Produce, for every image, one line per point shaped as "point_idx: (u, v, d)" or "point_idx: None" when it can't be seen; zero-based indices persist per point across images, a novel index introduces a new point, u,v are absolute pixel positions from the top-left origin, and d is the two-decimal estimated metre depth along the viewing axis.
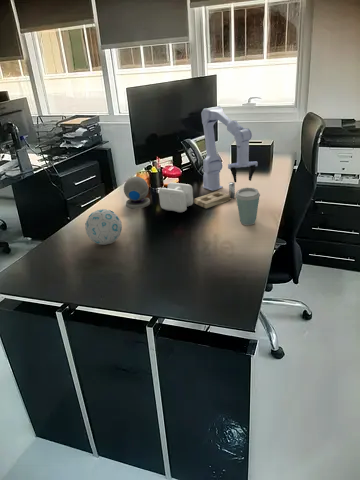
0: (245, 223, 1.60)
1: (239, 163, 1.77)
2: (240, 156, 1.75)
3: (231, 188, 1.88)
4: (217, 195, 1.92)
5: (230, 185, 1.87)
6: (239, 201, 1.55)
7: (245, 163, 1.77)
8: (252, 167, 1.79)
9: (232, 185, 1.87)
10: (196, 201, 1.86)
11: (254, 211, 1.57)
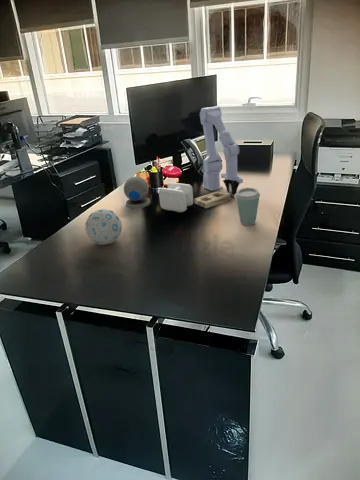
0: (245, 223, 1.60)
1: (226, 175, 1.87)
2: (226, 168, 1.85)
3: (231, 188, 1.88)
4: (217, 195, 1.92)
5: (230, 185, 1.87)
6: (239, 201, 1.55)
7: (228, 176, 1.84)
8: (232, 182, 1.85)
9: None
10: (196, 201, 1.86)
11: (254, 211, 1.57)
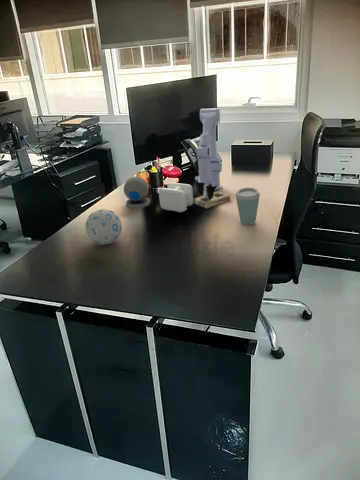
0: (245, 223, 1.60)
1: None
2: (199, 171, 1.79)
3: (205, 194, 1.83)
4: (217, 195, 1.92)
5: (204, 191, 1.83)
6: (239, 201, 1.55)
7: (201, 179, 1.79)
8: (208, 186, 1.77)
9: (206, 191, 1.82)
10: (196, 201, 1.86)
11: (254, 211, 1.57)
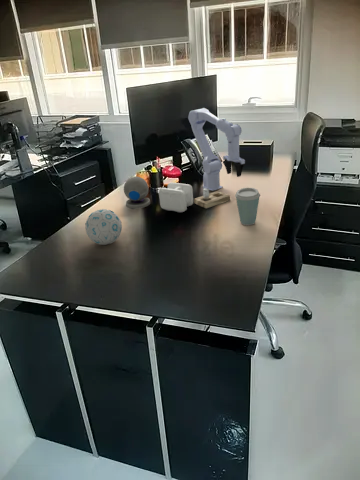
0: (245, 223, 1.60)
1: (228, 156, 1.88)
2: (228, 150, 1.86)
3: (205, 194, 1.83)
4: (217, 195, 1.92)
5: (204, 191, 1.83)
6: (239, 201, 1.55)
7: (230, 158, 1.86)
8: (237, 164, 1.85)
9: (206, 191, 1.82)
10: (196, 201, 1.86)
11: (254, 211, 1.57)
